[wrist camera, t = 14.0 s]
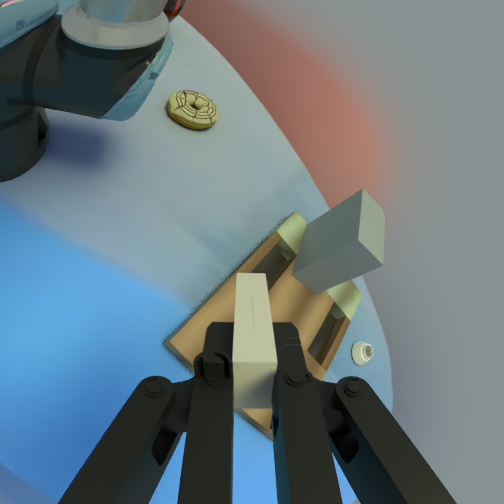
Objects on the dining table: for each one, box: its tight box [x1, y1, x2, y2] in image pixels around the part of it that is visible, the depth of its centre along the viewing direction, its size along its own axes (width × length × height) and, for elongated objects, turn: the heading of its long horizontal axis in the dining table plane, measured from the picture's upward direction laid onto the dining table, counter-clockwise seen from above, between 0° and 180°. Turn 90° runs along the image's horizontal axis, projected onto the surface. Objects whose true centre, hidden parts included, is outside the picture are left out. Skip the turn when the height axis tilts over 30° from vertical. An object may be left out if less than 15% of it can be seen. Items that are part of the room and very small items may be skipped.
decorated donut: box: [167, 90, 218, 129], centre depth 52 cm, size 10×11×4 cm
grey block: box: [291, 189, 384, 294], centre depth 46 cm, size 6×12×14 cm, turn 157°
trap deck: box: [163, 211, 362, 441], centre depth 45 cm, size 22×34×3 cm, turn 141°
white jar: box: [352, 341, 373, 365], centre depth 52 cm, size 5×3×5 cm
